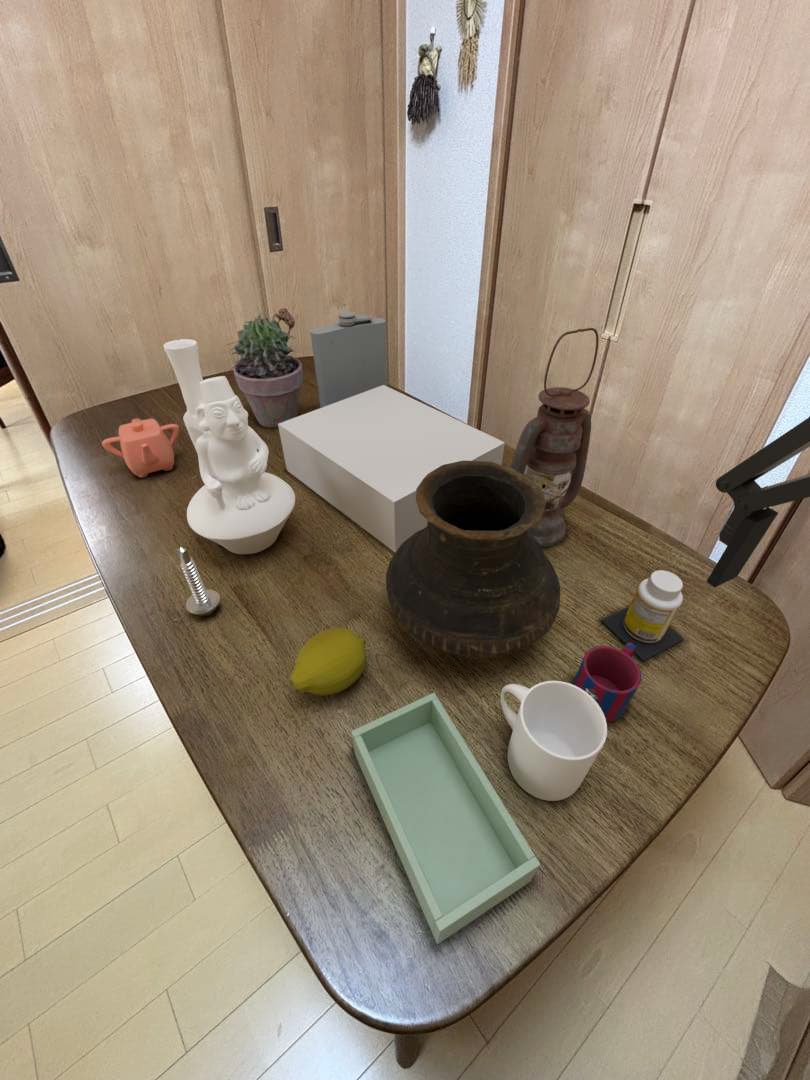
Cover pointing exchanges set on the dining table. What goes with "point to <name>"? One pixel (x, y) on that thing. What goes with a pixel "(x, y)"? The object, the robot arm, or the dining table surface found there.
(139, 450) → the teapot
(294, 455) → the box
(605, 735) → the mug
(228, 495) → the white sculpted figure
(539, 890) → the dining table surface
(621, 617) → the coaster
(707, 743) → the dining table surface
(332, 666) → the lemon
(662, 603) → the supplement bottle
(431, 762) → the bin
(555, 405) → the lantern
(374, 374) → the flask
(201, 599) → the screw
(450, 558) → the ceramic pot
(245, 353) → the potted plant
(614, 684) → the cup
